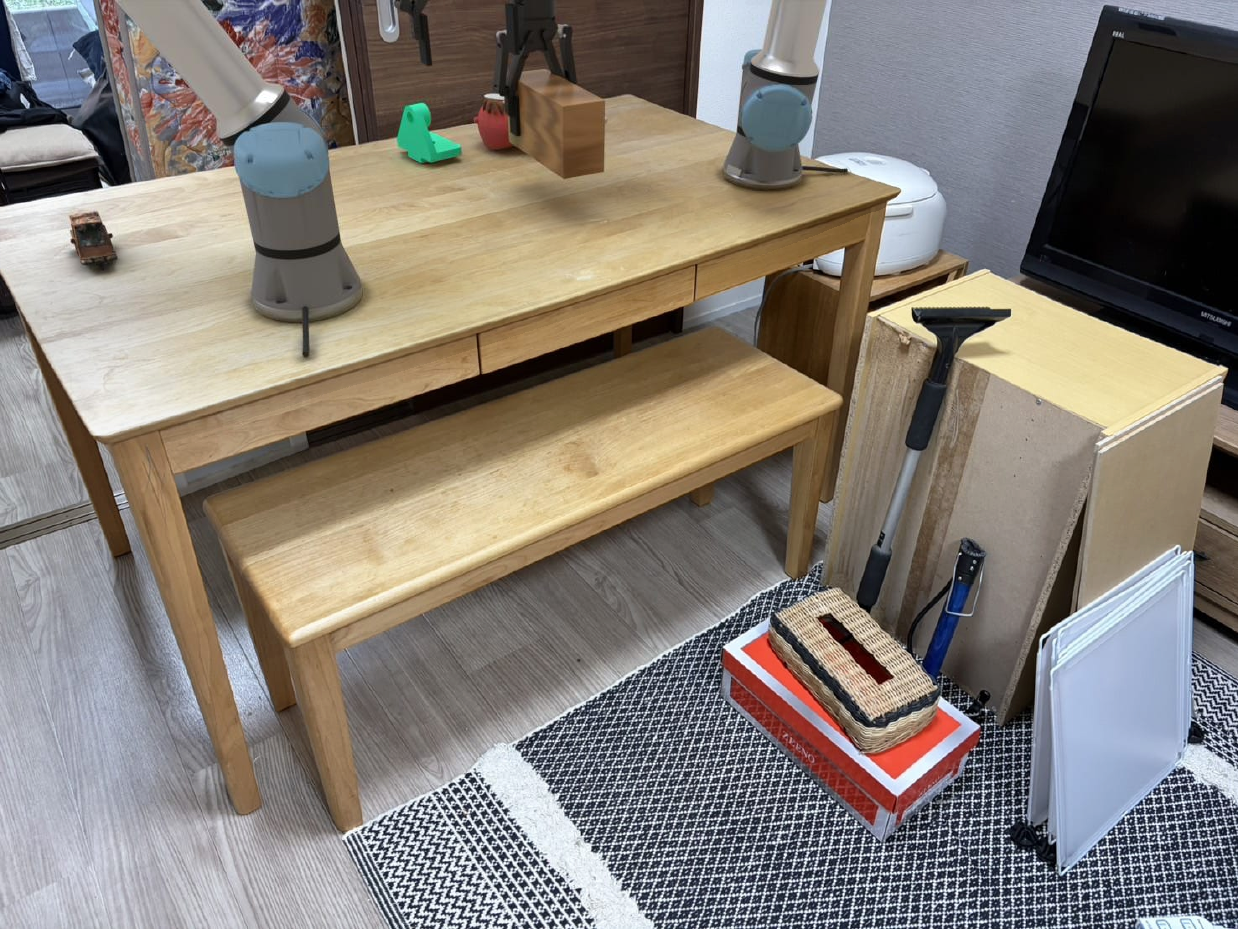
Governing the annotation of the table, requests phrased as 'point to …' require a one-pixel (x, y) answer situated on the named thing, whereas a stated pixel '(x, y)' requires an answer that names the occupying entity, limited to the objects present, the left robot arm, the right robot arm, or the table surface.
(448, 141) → the camera mount
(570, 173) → the box
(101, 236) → the toy car
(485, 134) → the toy
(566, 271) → the table surface
